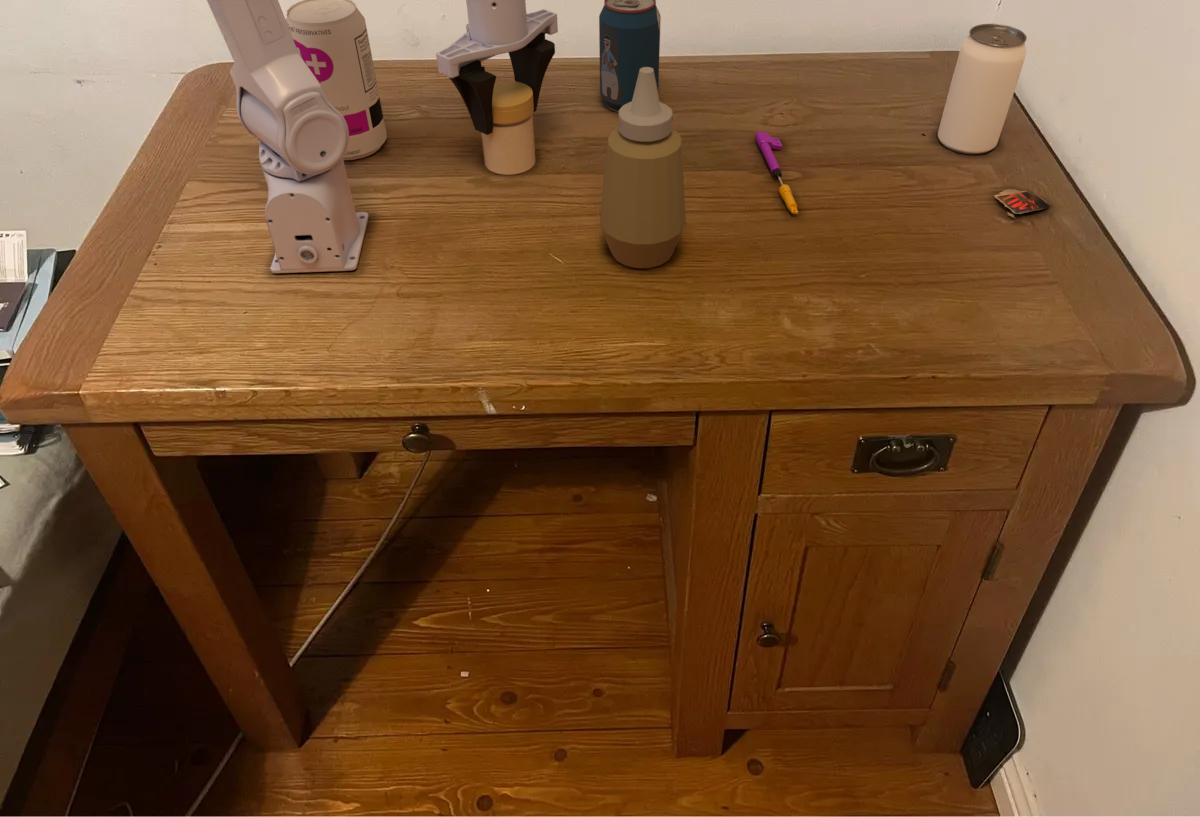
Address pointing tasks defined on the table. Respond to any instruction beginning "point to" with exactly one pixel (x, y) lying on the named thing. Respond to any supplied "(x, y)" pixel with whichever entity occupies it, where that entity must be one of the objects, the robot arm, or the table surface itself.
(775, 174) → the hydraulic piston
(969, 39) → the can
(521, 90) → the lid
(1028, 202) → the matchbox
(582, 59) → the table surface
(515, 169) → the jar
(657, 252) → the squeeze bottle
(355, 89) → the supplement can
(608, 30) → the soda can
